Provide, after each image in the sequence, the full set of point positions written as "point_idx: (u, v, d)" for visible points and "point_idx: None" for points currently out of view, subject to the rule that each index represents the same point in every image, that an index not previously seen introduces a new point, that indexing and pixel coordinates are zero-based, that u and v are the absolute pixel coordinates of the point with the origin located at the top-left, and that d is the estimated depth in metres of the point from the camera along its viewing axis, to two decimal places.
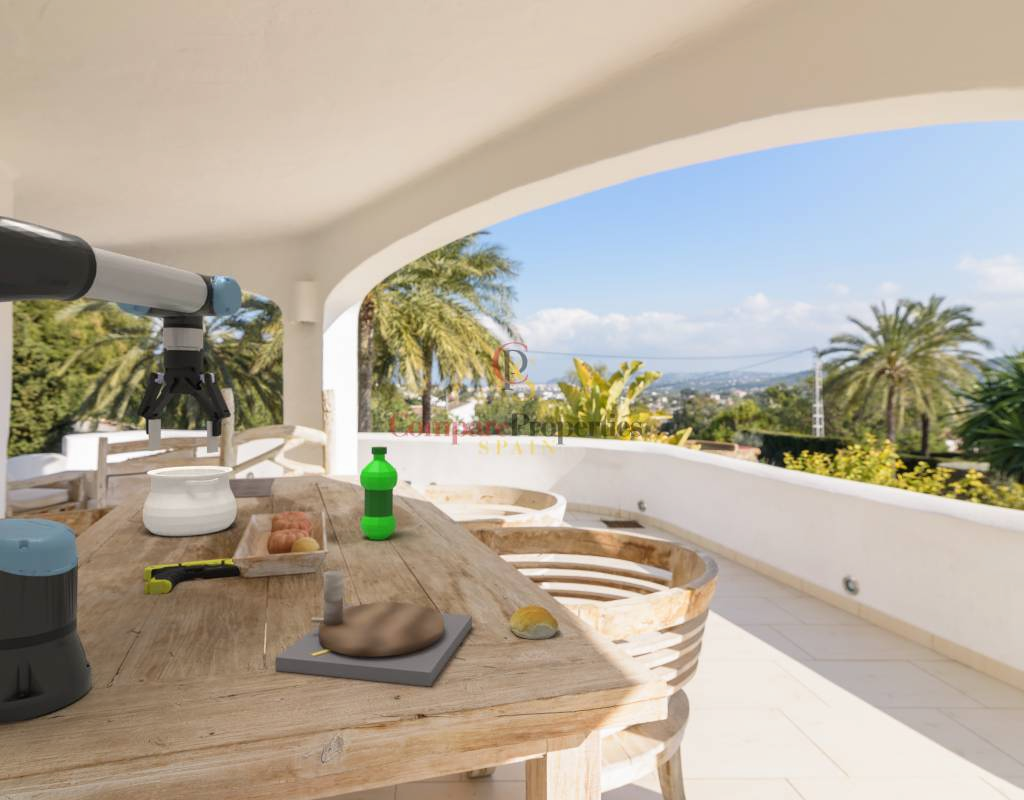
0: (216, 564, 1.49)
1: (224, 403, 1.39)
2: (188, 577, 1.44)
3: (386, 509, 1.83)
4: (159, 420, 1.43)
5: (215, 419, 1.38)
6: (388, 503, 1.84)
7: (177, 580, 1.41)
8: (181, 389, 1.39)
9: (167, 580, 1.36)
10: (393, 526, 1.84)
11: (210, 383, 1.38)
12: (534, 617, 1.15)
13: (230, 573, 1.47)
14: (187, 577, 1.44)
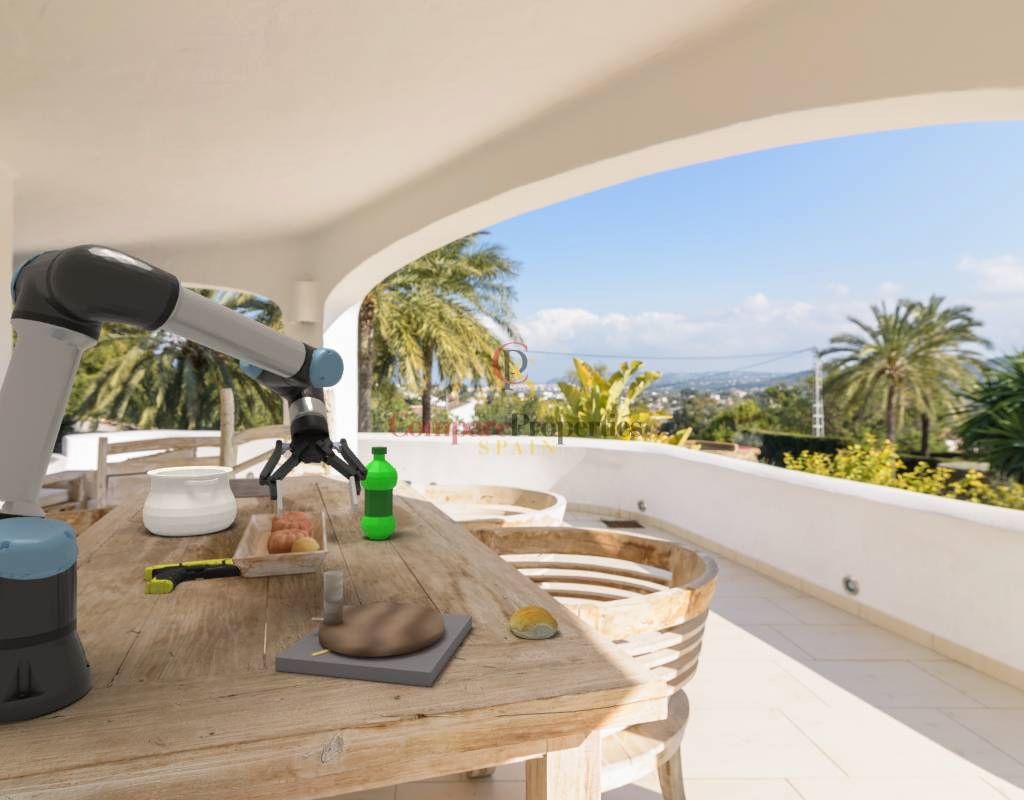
0: (217, 564, 1.49)
1: None
2: (189, 577, 1.44)
3: (386, 509, 1.83)
4: None
5: (358, 475, 1.33)
6: (388, 503, 1.84)
7: (178, 580, 1.41)
8: (315, 452, 1.33)
9: (168, 580, 1.37)
10: (393, 526, 1.84)
11: (347, 446, 1.37)
12: (534, 617, 1.15)
13: (231, 573, 1.47)
14: (188, 577, 1.44)
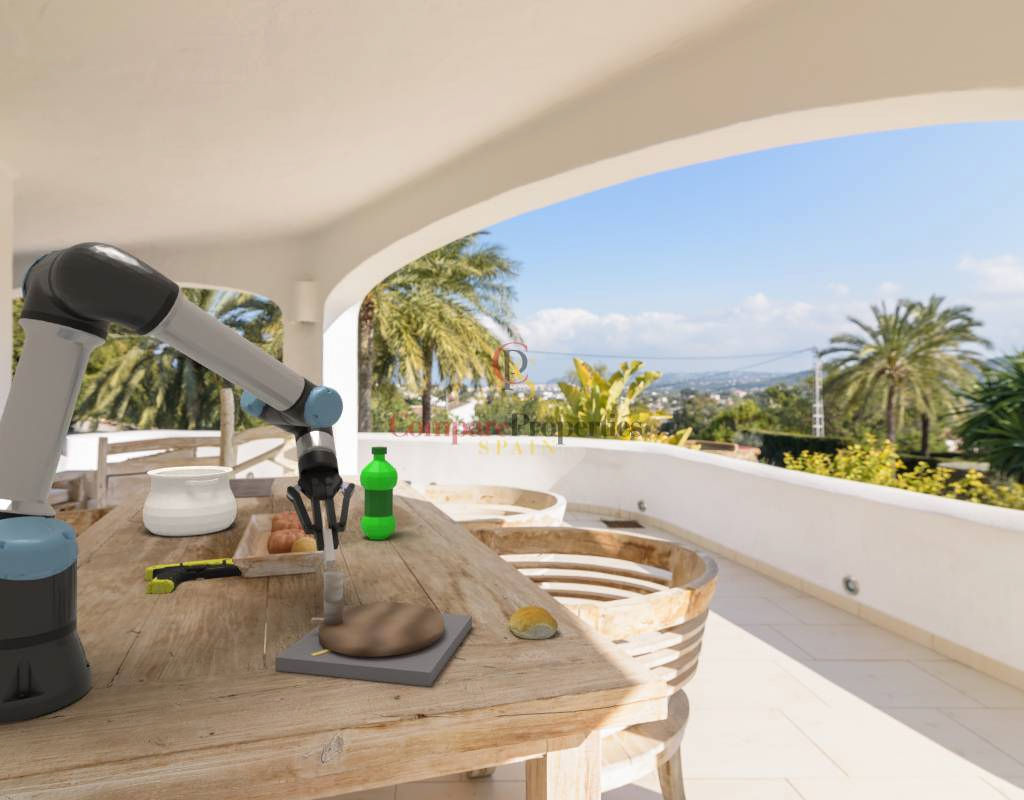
0: (218, 564, 1.49)
1: None
2: (190, 577, 1.44)
3: (386, 509, 1.83)
4: None
5: (335, 528, 1.23)
6: (388, 503, 1.84)
7: (179, 580, 1.41)
8: (324, 490, 1.28)
9: (169, 580, 1.37)
10: (393, 526, 1.84)
11: (350, 493, 1.30)
12: (534, 618, 1.15)
13: (232, 573, 1.47)
14: (189, 577, 1.44)
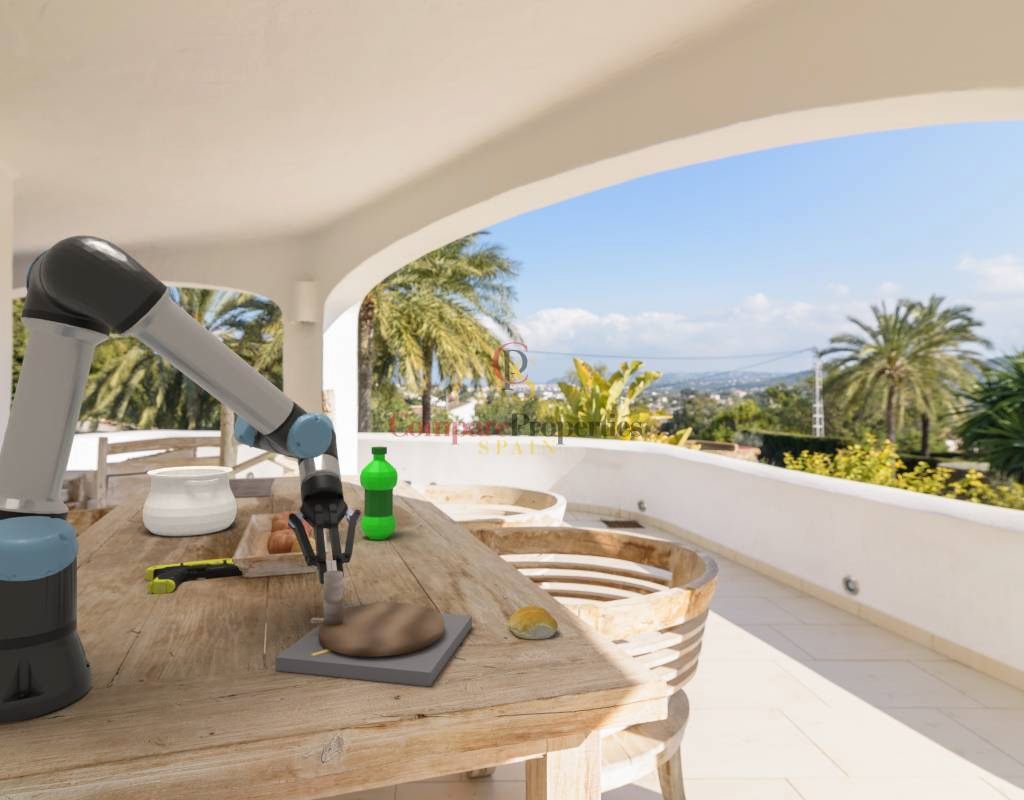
0: (218, 564, 1.49)
1: None
2: (191, 577, 1.44)
3: (386, 509, 1.83)
4: None
5: (340, 559, 1.16)
6: (388, 503, 1.84)
7: (180, 580, 1.41)
8: (328, 517, 1.21)
9: (170, 580, 1.37)
10: (393, 526, 1.84)
11: (356, 520, 1.22)
12: (534, 618, 1.15)
13: (233, 573, 1.48)
14: (190, 577, 1.44)
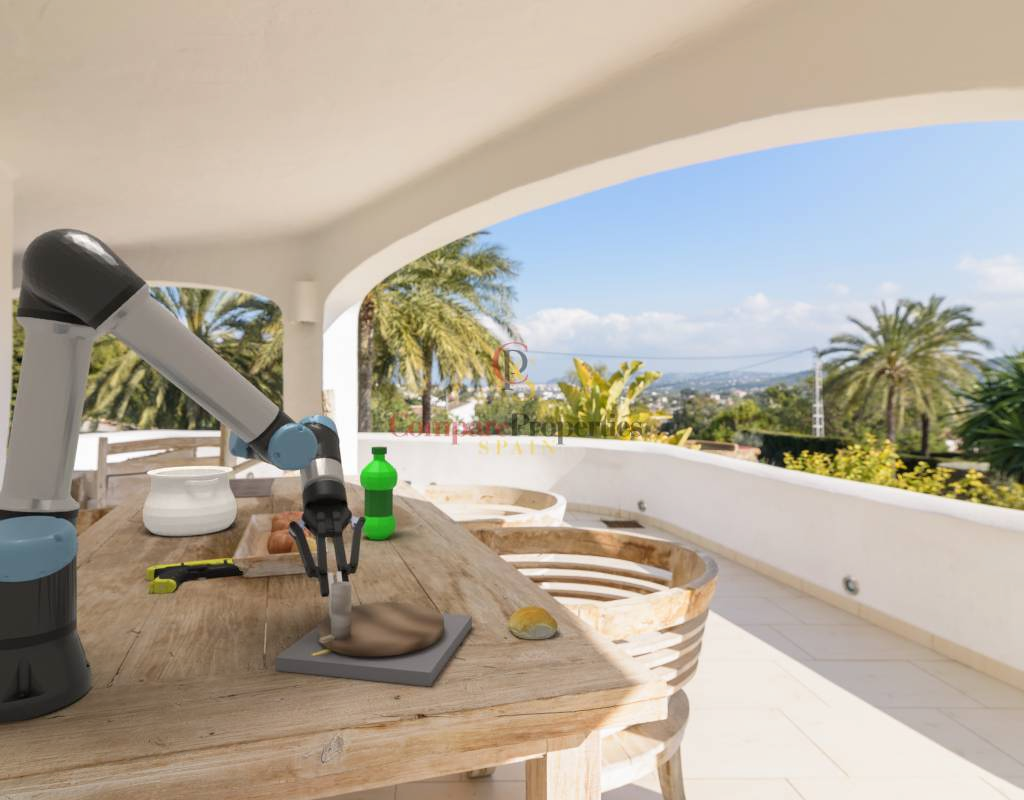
0: (219, 563, 1.49)
1: None
2: (191, 576, 1.44)
3: (386, 509, 1.83)
4: None
5: (345, 570, 1.10)
6: (388, 503, 1.84)
7: (181, 580, 1.42)
8: (331, 525, 1.15)
9: (171, 579, 1.37)
10: (393, 526, 1.84)
11: (361, 528, 1.16)
12: (534, 618, 1.15)
13: (233, 573, 1.48)
14: (190, 576, 1.44)
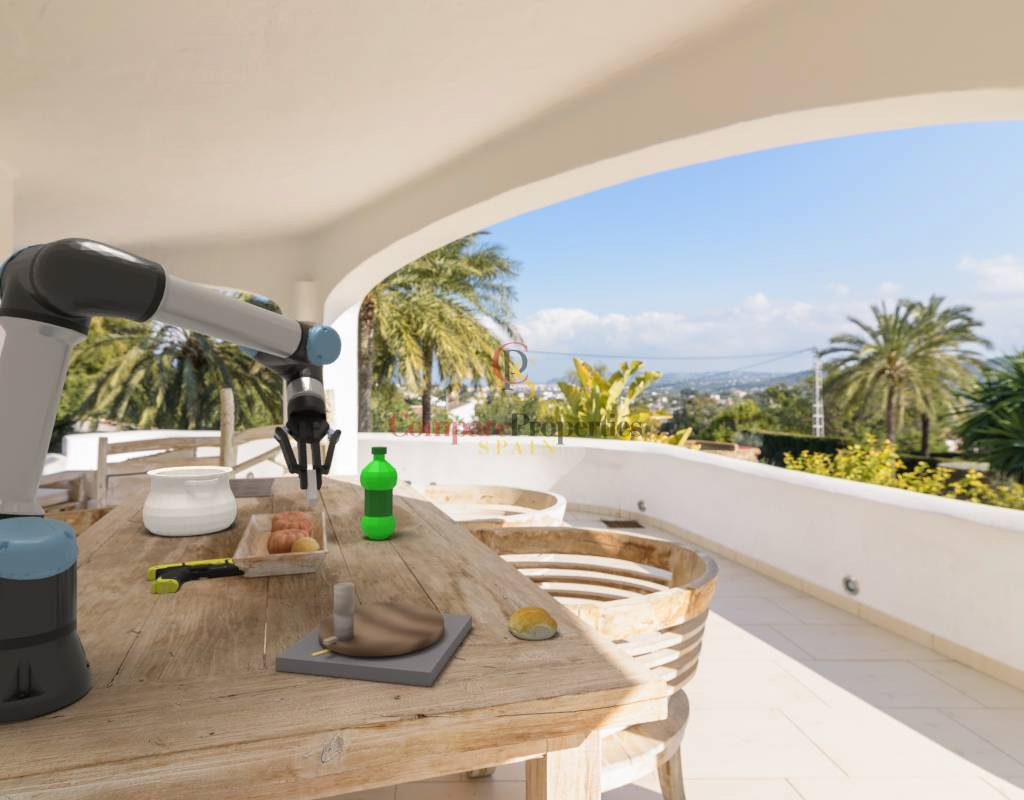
0: (220, 563, 1.50)
1: None
2: (193, 576, 1.44)
3: (386, 509, 1.83)
4: None
5: (319, 469, 1.27)
6: (388, 503, 1.84)
7: (183, 580, 1.42)
8: (311, 433, 1.32)
9: (174, 579, 1.37)
10: (393, 526, 1.84)
11: (336, 438, 1.34)
12: (533, 618, 1.14)
13: (235, 572, 1.48)
14: (192, 576, 1.44)
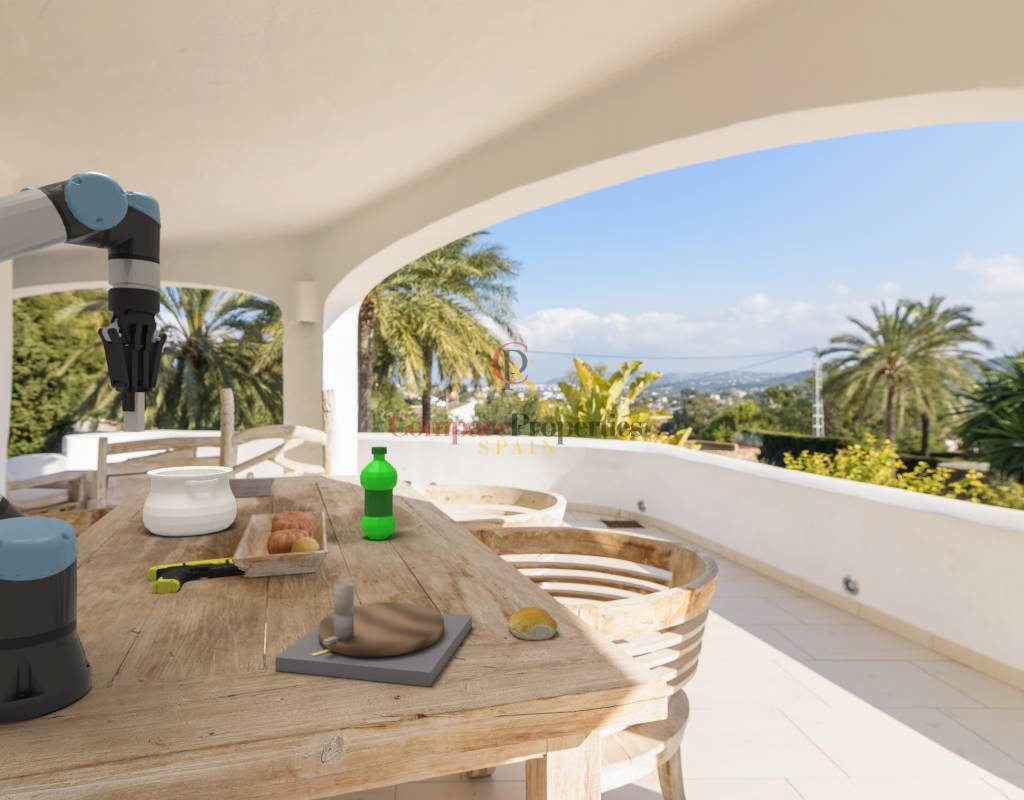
0: (221, 563, 1.50)
1: None
2: (194, 576, 1.44)
3: (386, 509, 1.83)
4: None
5: None
6: (388, 503, 1.83)
7: (184, 579, 1.42)
8: (141, 338, 1.12)
9: (175, 579, 1.37)
10: (393, 526, 1.84)
11: None
12: (533, 618, 1.14)
13: (236, 572, 1.48)
14: (193, 576, 1.44)
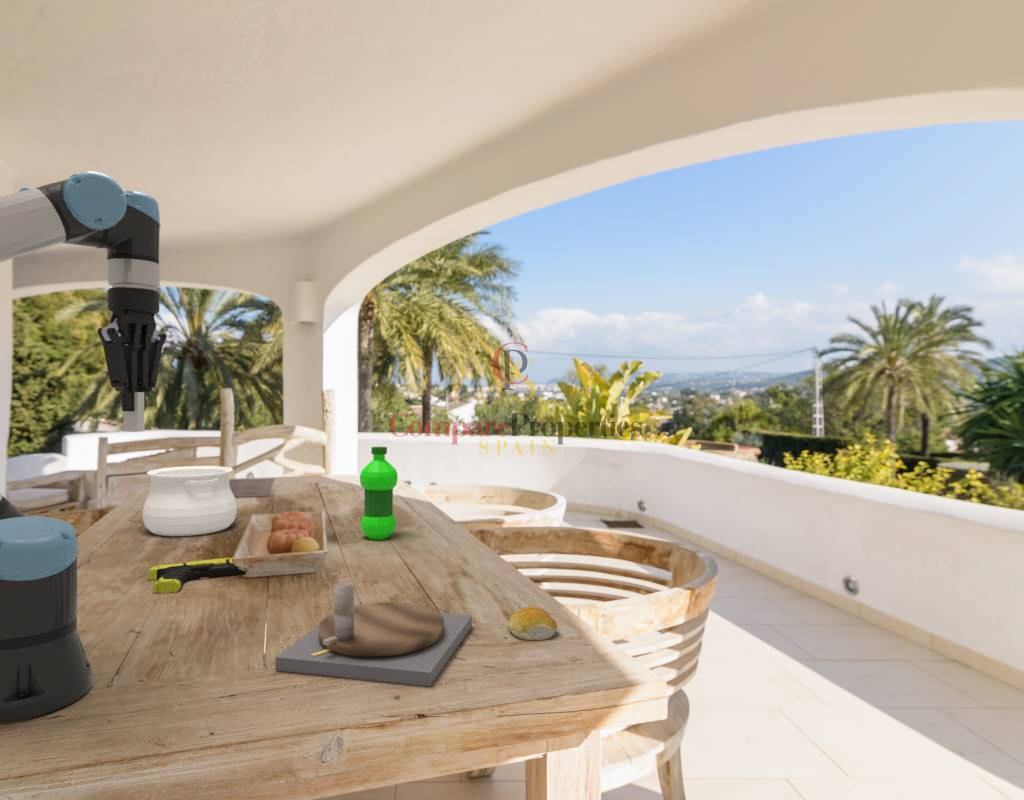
0: (221, 563, 1.50)
1: None
2: (195, 576, 1.44)
3: (386, 509, 1.83)
4: None
5: None
6: (388, 503, 1.84)
7: (184, 579, 1.42)
8: (141, 338, 1.11)
9: (176, 579, 1.37)
10: (393, 526, 1.84)
11: None
12: (533, 618, 1.14)
13: (236, 572, 1.48)
14: (194, 576, 1.44)
